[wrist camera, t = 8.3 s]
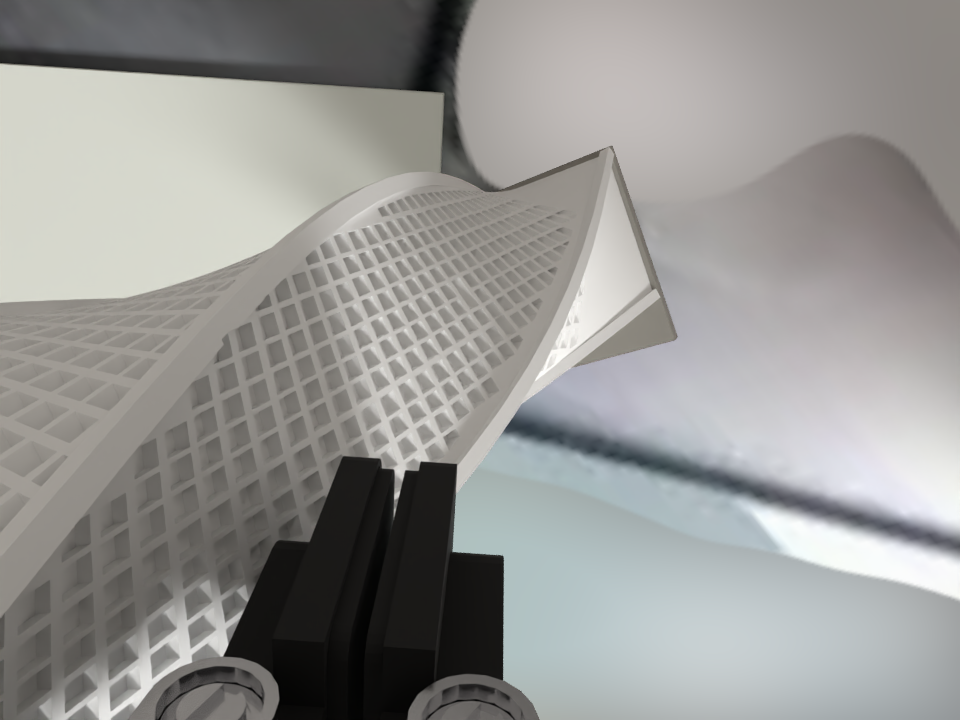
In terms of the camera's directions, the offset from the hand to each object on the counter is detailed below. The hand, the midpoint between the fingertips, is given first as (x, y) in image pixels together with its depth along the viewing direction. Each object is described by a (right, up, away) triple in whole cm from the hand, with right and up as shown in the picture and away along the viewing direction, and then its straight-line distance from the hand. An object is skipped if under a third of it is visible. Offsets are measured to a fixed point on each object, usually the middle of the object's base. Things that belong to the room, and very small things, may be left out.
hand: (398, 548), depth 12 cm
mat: (-12, +8, +20) cm, 25 cm away
